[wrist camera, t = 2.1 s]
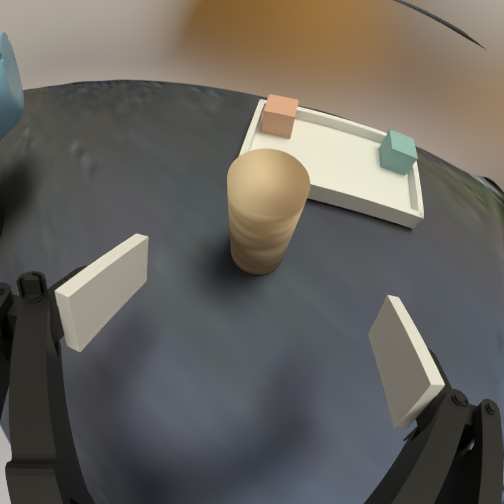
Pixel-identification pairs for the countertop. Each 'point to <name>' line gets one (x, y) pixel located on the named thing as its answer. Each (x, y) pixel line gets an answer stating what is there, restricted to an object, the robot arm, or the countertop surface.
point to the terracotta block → (279, 116)
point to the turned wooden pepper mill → (264, 207)
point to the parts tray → (344, 165)
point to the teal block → (397, 152)
